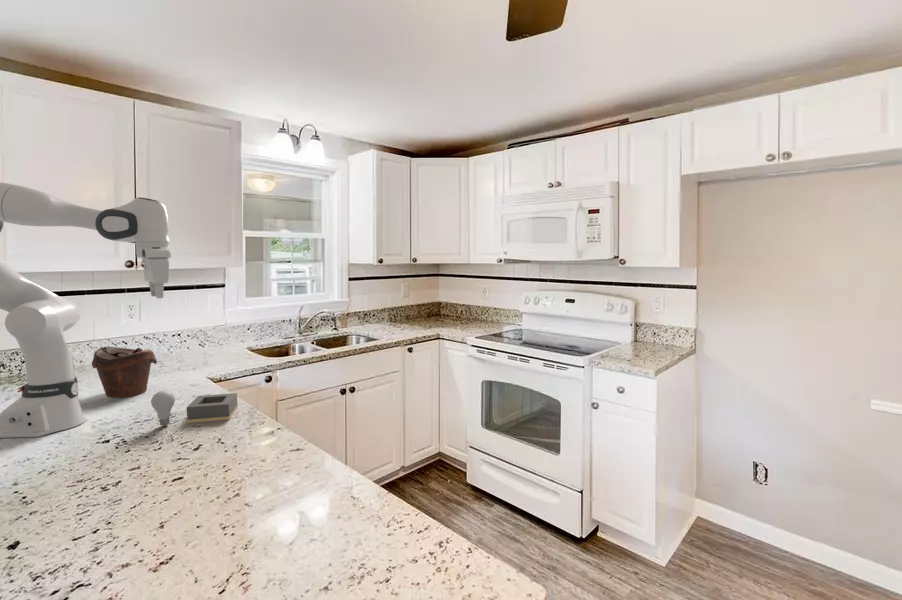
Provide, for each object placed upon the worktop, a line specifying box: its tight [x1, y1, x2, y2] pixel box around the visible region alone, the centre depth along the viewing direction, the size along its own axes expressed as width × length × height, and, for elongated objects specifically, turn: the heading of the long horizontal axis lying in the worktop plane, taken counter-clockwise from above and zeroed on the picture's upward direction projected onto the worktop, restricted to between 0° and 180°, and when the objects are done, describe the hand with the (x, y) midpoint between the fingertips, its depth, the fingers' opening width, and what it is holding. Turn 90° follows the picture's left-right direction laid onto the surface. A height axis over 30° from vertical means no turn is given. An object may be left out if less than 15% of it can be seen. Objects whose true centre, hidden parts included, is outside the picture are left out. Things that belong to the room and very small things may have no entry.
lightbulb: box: [150, 390, 176, 427], centre depth 140 cm, size 6×6×11 cm
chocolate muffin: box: [91, 346, 158, 399], centre depth 174 cm, size 18×20×18 cm
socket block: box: [186, 392, 239, 424], centre depth 150 cm, size 12×12×5 cm
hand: (157, 297), depth 142 cm, fingers open, 8 cm apart
